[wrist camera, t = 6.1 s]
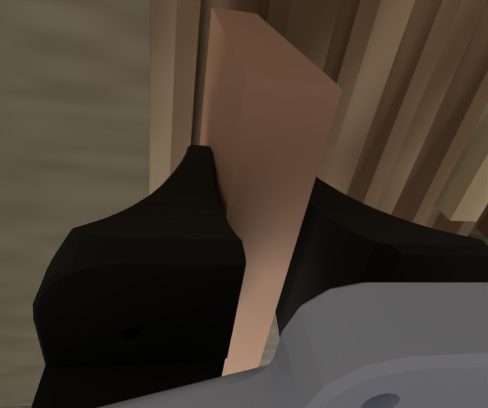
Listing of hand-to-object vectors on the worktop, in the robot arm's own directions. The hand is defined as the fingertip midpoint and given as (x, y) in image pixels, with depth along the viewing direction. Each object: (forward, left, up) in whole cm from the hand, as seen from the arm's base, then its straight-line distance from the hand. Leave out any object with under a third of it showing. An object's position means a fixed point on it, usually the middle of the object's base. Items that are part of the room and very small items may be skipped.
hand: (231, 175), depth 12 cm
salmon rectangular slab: (0, 0, -4) cm, 4 cm away
